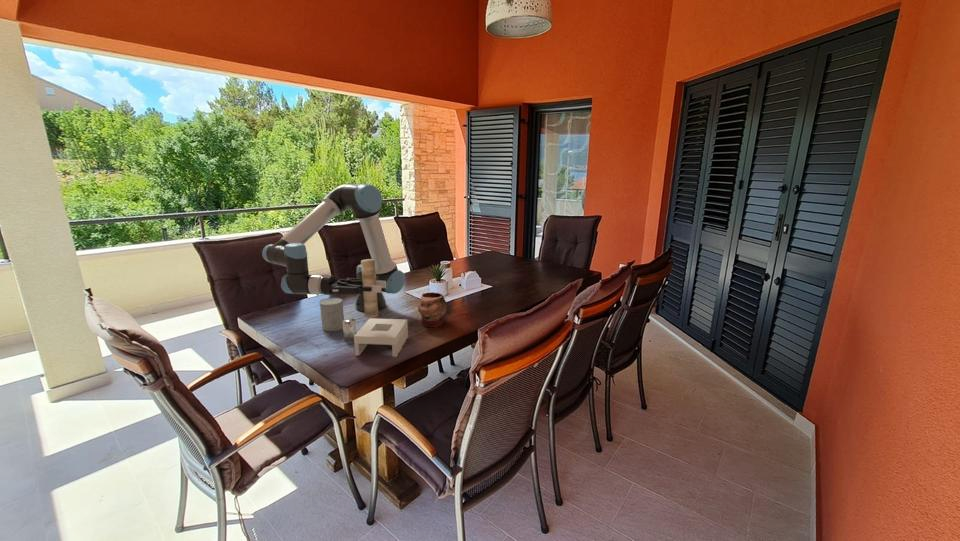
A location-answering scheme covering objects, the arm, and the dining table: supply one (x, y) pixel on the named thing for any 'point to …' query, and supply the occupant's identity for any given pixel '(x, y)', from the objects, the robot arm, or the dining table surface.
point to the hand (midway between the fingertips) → (383, 286)
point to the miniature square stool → (382, 334)
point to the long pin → (369, 279)
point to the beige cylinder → (332, 314)
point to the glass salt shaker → (349, 329)
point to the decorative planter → (432, 309)
